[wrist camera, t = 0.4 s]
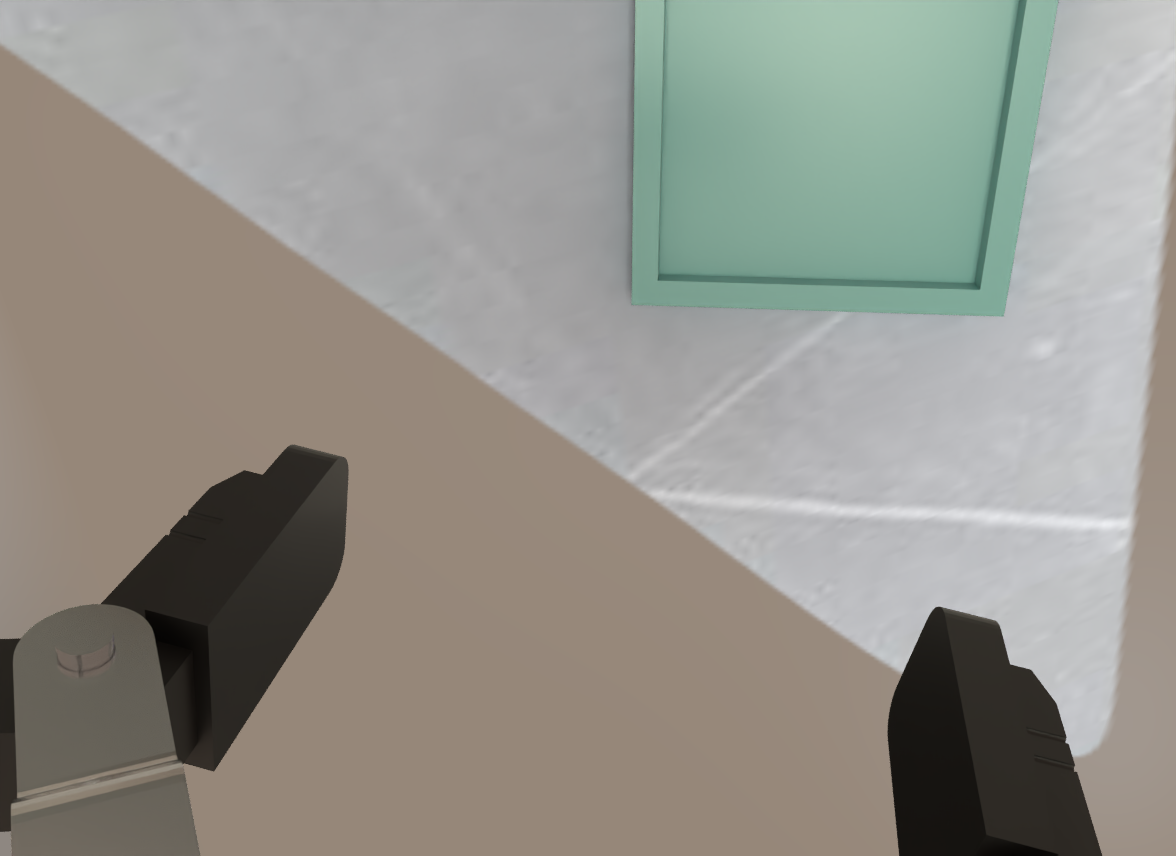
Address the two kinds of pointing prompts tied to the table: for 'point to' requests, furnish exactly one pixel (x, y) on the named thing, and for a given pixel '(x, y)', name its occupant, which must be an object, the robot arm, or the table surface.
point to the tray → (833, 152)
